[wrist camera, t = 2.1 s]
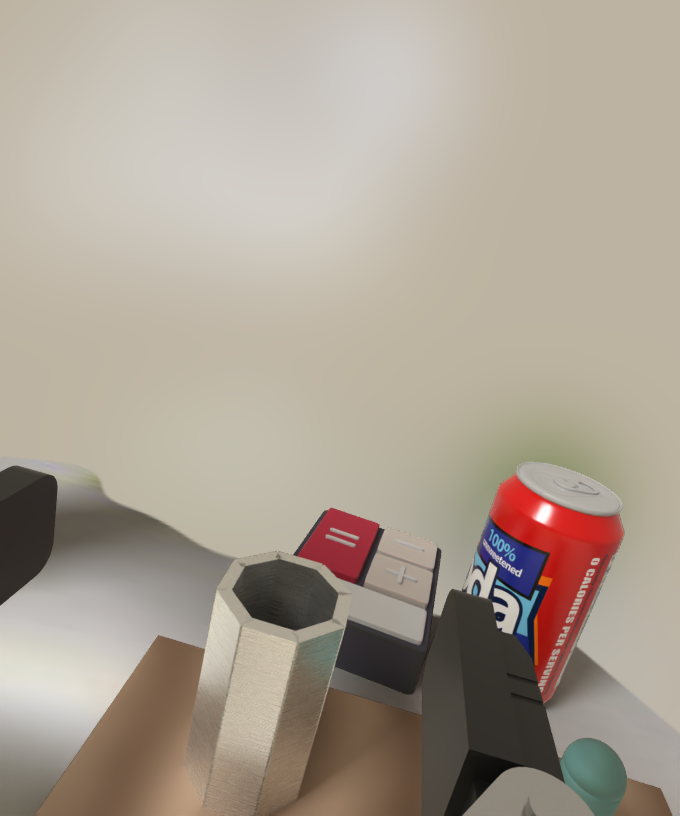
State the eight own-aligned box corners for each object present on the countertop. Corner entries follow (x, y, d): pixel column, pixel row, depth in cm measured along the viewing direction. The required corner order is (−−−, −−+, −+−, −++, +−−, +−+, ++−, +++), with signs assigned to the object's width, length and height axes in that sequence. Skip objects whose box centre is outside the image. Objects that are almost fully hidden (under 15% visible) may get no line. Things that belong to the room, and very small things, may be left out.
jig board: (18, 861, 22) (30, 700, 20) (155, 654, 34) (173, 535, 31) (776, 1122, 20) (899, 979, 18) (650, 807, 32) (714, 692, 29)
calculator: (444, 540, 49) (431, 643, 34) (431, 582, 50) (412, 699, 36) (327, 501, 51) (267, 582, 36) (316, 542, 52) (254, 637, 37)
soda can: (572, 722, 36) (664, 525, 32) (461, 714, 35) (541, 506, 30) (521, 636, 44) (590, 466, 39) (428, 626, 42) (488, 448, 38)
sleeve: (170, 736, 27) (200, 566, 24) (268, 698, 31) (305, 545, 28) (218, 843, 23) (261, 655, 20) (324, 785, 27) (375, 617, 24)
